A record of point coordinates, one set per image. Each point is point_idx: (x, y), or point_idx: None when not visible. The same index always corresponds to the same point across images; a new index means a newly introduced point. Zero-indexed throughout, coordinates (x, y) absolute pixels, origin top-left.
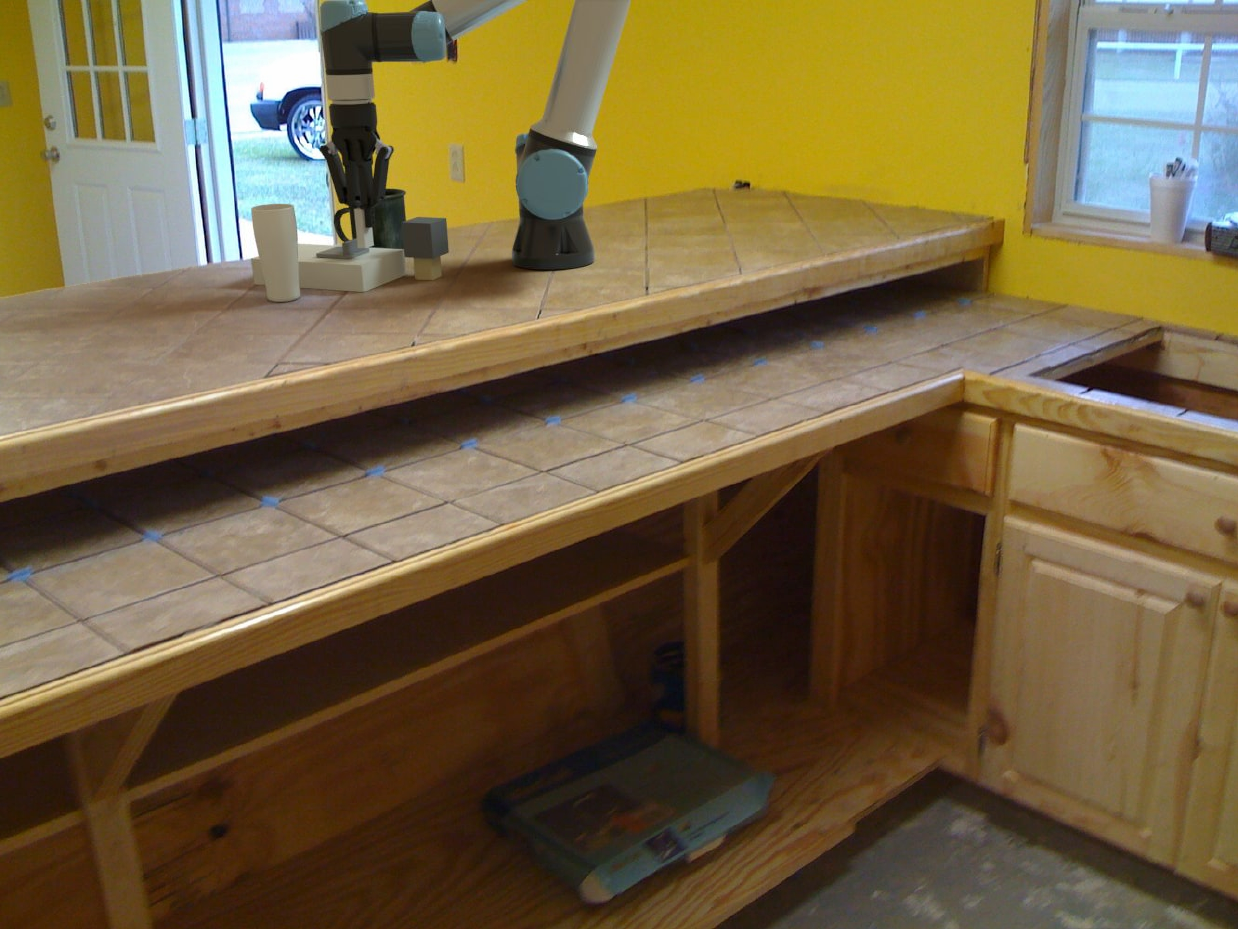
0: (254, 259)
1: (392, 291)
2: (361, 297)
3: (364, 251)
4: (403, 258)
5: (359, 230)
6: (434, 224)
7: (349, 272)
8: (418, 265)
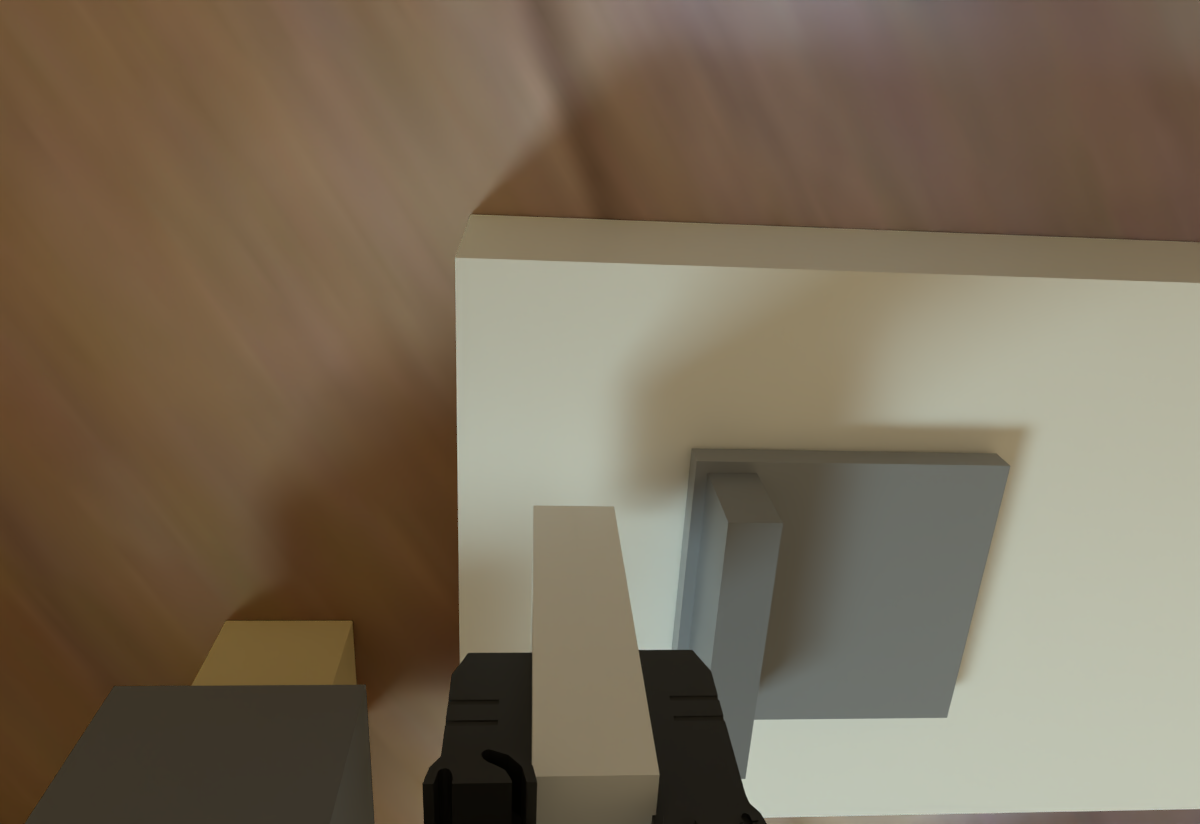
0: None
1: (285, 286)
2: (394, 54)
3: None
4: None
5: (586, 599)
6: None
7: (581, 245)
8: (298, 678)
